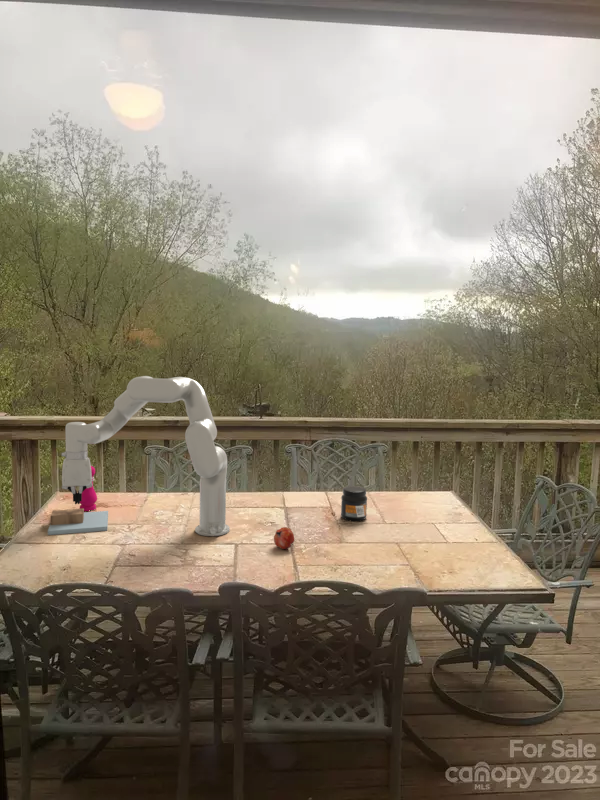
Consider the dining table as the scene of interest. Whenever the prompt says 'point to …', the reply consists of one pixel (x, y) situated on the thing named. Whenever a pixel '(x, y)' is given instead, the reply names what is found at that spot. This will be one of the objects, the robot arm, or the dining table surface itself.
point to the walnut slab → (67, 516)
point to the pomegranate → (284, 538)
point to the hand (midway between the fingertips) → (77, 503)
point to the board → (83, 524)
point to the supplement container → (354, 503)
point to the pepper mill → (89, 496)
